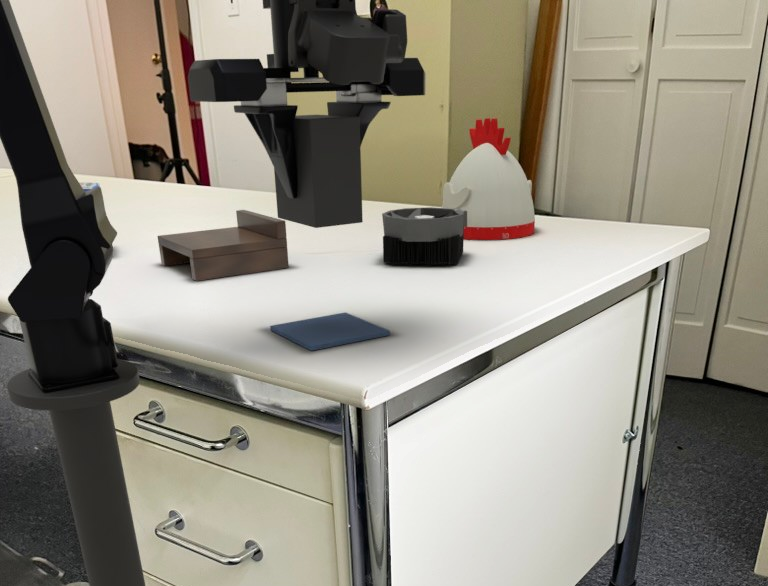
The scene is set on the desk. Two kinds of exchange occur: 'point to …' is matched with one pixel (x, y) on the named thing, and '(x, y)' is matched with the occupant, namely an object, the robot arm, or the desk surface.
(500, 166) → the kitchen timer
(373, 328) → the rubber mat
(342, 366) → the desk surface
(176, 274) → the desk surface
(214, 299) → the desk surface
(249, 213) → the desk shelf
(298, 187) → the dark grey block
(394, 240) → the cpu cooler
